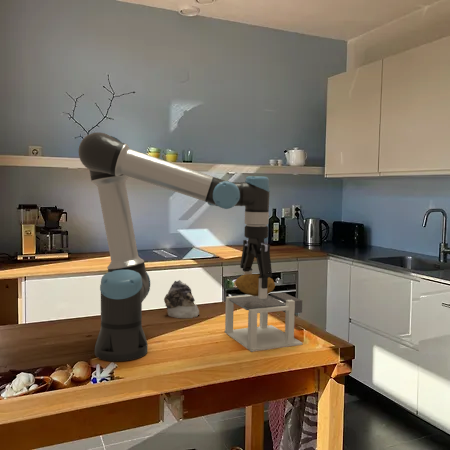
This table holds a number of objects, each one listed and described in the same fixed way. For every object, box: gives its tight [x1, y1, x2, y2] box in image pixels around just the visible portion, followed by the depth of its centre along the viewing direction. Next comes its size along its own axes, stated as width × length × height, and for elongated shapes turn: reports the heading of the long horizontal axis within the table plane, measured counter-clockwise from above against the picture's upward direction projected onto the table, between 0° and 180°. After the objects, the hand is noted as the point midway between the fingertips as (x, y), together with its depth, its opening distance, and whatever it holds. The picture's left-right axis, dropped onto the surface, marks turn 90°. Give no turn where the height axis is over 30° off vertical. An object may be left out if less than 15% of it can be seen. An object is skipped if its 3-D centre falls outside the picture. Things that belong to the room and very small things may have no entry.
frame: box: [224, 293, 304, 353], centre depth 154 cm, size 18×20×14 cm
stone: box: [163, 279, 200, 319], centre depth 179 cm, size 14×10×15 cm
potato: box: [234, 273, 276, 296], centre depth 152 cm, size 9×13×7 cm
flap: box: [229, 292, 303, 314], centre depth 154 cm, size 20×14×4 cm
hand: (254, 294), depth 153 cm, fingers closed on potato, 10 cm apart
